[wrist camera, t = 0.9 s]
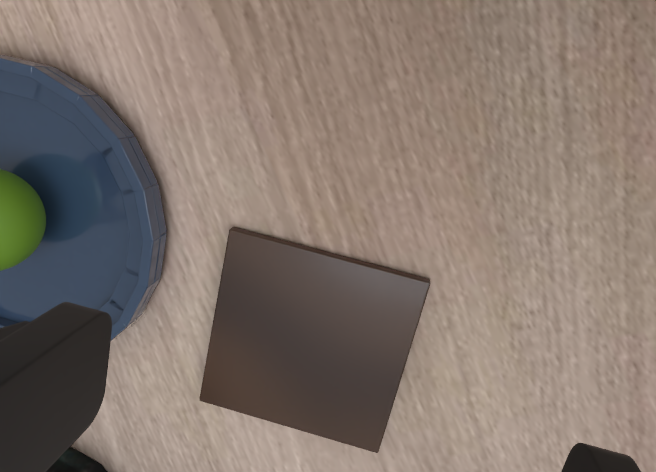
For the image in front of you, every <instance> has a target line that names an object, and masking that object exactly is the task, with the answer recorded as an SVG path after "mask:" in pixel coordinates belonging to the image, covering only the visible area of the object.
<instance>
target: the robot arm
mask: <svg viewBox="0 0 656 472" xmlns="http://www.w3.org/2000/svg"><path fill="white" fill-rule="evenodd" d="M111 332H112V320H111V316H110V315H109V314H108V313H106V312H103V311H99V310H96V309H92V308H88V307H85V306H81V305H77V304H73V303H70V302H63V303H61V304H59V305H57V306H55V307H54V308H52V309H51V310H49V311H47V312H46V313H44V314H42V315H41V316H39V317H37V318H36V319H34V320H32V321H31V322H28V321H23V322H19V323H16V324H13V325H9V326H6V327H2V328H0V472H46V471H47V470H48V469H49V468H50V467H51V466H52V465H53V464H54V463H55V462H56V461H57V460H58V458H59V457H60V456H61V455H62V454H63V453H64V452H65V451H66V450H67V449H68V448H69V447H70V446H71V445H72V444H73V443H74V442H75V441H76V440H77V439H78V438H79V436H80V435H81V434H82V433H83V432H84V431H85V430H86V429H87V428H88V427H89V426H90V424H91V423H92V422H93V420H94V418H95V417H96V415H97V413H98V411H99V409H100V406H101V404H102V401H103V397H104V393H105V386H106V377H107V368H108V359H109V350H110V341H111ZM562 472H641V471H640V469H639V468H638V466H637V464H636V463H635V461H634V460H633V459H632V458H631V457H630V456H628V455H624V454H620V453H617V452H613V451H609V450H606V449H602V448H598V447H595V446H591V445H587V444H584V443H578V444H576V445H575V446H574V447H573V448H572V449H571V451H570V453H569V455H568V457H567V460H566V462H565V465H564V467H563V469H562Z"/></svg>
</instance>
